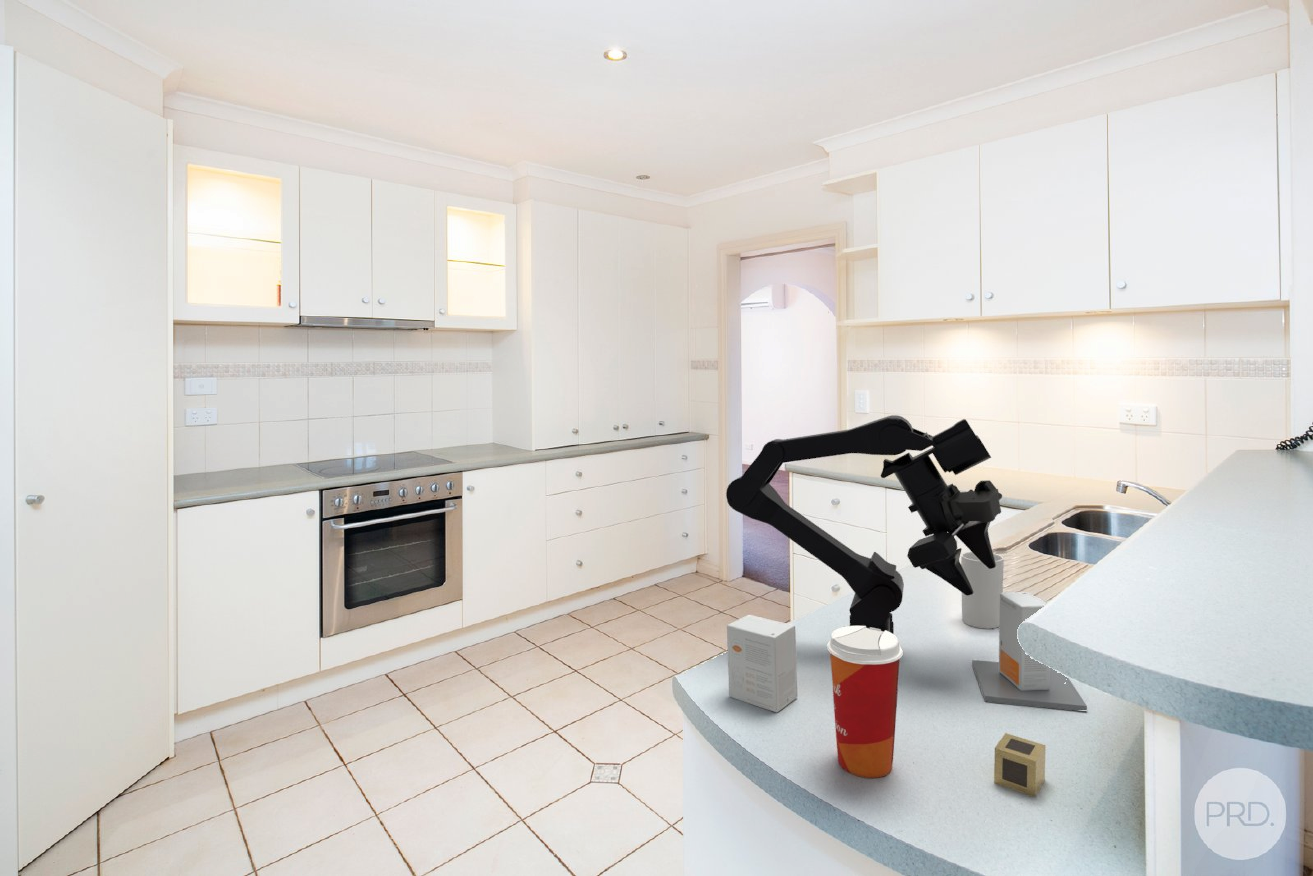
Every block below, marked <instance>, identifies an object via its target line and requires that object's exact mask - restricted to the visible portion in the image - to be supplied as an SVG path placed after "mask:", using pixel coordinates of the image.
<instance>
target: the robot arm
mask: <svg viewBox="0 0 1313 876" xmlns="http://www.w3.org/2000/svg"><path fill="white" fill-rule="evenodd" d="M924 450H925V451H924ZM906 451H917V452H921V453H918V454H917V455H914V456H913V455H912V454H911V453H910V452H907V453H905V452H906ZM922 451H923V452H922ZM903 453H905V454H903ZM848 454H858V455H859V454H862V455H872V456H873V455H874V456H898V455H901V454H903V455H901V456H900V457H898V458H896V459H894V460H891V459H888V458H885V459H884V460H883V463H882V464H883V466H882V471H881V473H880V477H881V479H885V478H888V477H889V476H891V475H893V474H894V476H895V477H896V478H897V480H898V481H899V484H900V485H901V487H902V488H903V490H904V491H905V493H906V494H907V495H906V496H908V498H909V500H910V502H911V504H910V505H909V506H908V507H907V508H908V510H909V511H910V513H911V514H913V513H914V512H917V513H918V515H919V516H920V518H921V520H922V522H923V523H924V525H925V528H924V529H922V533H923V535H924V536H925V537H923V538H920V539H918V540H917V541H916V542H915V543H914V544H913V545H911V546H910V548H908V551H907V552H908V553H907V555H906V557H907V558H908V560H909V562H910V563H911V565H912V566H913V568H915V569H916V568H920V570H927V571H929V573H932V574H934V575H935V576H937V577H939V578H941V579H942V580H943V581H945V582H947V583H948V584H949V585H951V586H952V587H953V588H955V589H957V590H958V591H959V592H961V594H962V593H964V594H965V595H967V596H968V595H972V594H973V593H974V592H973V589H972V587H971V584H970V582H969V580H968V578H967V576H966V574H965V572H964V570H963V568H962V566H961V561H960V559H961V558H960V557H961V554H962V548H961V547H960V548H958V543H957V542H958V541H957V539H956V538H958V539H959V541H961V542H962V543H963V544H964V546H965V547H966V548H967V549H968V550H969V551H970V552H972V553H973V554H974V555H975V556H976V557H977V558H978V559H979V560H980V561H981V562H982V563H983V564H984V565H985V566H987V567H988V568H989V569H992V568H995V567H996V564H995V560H994V556H993V553H994V552H993V548H992V545H991V541H990V536H989V528H990V524H991V523H992V522H994V520H996V517H997V516H998V515H1000V514H1001V513H1002V508H1001V504H1000V500H1001V499H1003V494H1002V493H1001V492H999V489H998V488H997V487H996V486H995V484H993V482H992V481H991V480H990V479H989V480H980V481H979V482H977V484H975V487H974V490H973V489H969V490H968V491H961V490H959V488H958V487H957V485H956V484H955V485H954V484H953V483H951V484H947V483H946V481H945V479H944V478H943V476H942V474H941V473H940V471H939V470H938V468H937V466H936V465H935V463H934V462H933V460H932V458H931V457H930V455H933V456H934V458H935V460H936V462H937V463H938V465H939V466H940V468H941V469H942V471H943V473H947V472H948V473H953V474H954V476H957V475H959V474H961V473H963V472H964V471H965V472H966V471H967V470H970V469H971V468H974V467H975V466H977V465H979V464H981V463H983V462H985V461H988V460H990V459H992V456H991V455H990V453H989V451H988V450H987V448H986V446H985V445H984V443H983V441H982V440H981V439H980V437H979V436H978V435H977V434H975V431H974V430H973V428H972V427H971V425H970V424H969V422H968V420H967V419H965V418H963V419H960V420H959V421H957V422H956V423H955V424H953V425H952V426H950V427H949V428H947V429H944V430H943V431H941V432H939V433H937V434H935V435H931V434H928V432H927V431H926V432H923V431H921V430H919V429H916V428H913V426H912V423H910V421H909V420H908V419H906V418H904V417H903V416H900V415H898V414H897V415H888V416H885V417H881V418H879V419H876V420H873V421H870V422H867V423H865V424H862V425H861V424H860V425H858V426H856V427H853V428H849V429H843V430H838V431H831V432H830V431H829V432H823V433H818V434H810V435H804V436H798V437H791V438H786V439H785V438H784V439H781V438H776V439H773V440H770V441H768V442H766V443H764V446H763V447H762V449H761V451H760V453H759V454H758V455H757V456H756V458H755V459H754V460H753V462H751V464H750V465H749V467H748V468H746V470H745V472H744V473H743V474H742V475H741V476H739V477H738V478H736V479H734V480H732V481H731V482H730V483H729V484H728V485H727V487H726V493H725V494H726V501H727V502H726V503H727V504H728V506H730V508H732V510H734V511H735V512H738V513H740V514H742V515H743V516H745V517H748V519H751V520H755V521H757V522H761V523H764V524H767V525H769V526H771V527H772V528H775V529H776V531H778V532H780V533H781V534H783V535H784V536H786V537H787V538H788V539H789V540H791V541H792V542H794V543H795V544H797V545H798V546H799V547H801V548H802V549H803V550H805V551H806V552H808V553H809V554H810V555H812V556H813V557H815V558H816V559H817V560H819V561H820V562H822V563H823V564H824V565H825V566H827V567H829V568H830V569H832V570H833V571H834V572H835V573H837V574H838V575H840V576H841V577H842V578H843V579H844V581H846V583H847V585H848V586H849V587H850V588H851V589H852V591H853V592H854V595H853V598H852V600H851V604H850V607H849V614H850V615H849V626H866V628H869V629H870V627H871V628H876V629H881V631H883V632H884V631H885V630H886V631H889V632H891V633H892V634H894V631H895V630H894V625H895V624H894V621H893V612H895V611H896V610H897V609H899V608H900V607H901V604H902V602H903V596H904V587H905V585H904V579H903V576H902V574H901V573H900V572H899V571H898V570H897V565H896V564H894V563H890V562H888V561H887V560H886V559H884V558H883V557H882V556H881V555H880V554H879V553H878V552H876V551H874V552H873V554H872V555H871V558H870V557H868V556H864V555H861V554H858V553H856V552H855V551H854V550H853V549H851V548H850V547H848V546H846V544H844V543H843V542H841V541H839V539H837V538H835V537H834V536H832V535H831V534H830V533H828V532H827V531H825V530H824V529H823V528H821V527H819V526H818V525H817V524H815V523H814V522H813V521H812V520H810V519H808V518H807V517H805V516H804V515H802V514H801V513H800V512H798V511H797V510H796V509H794V508H793V507H791V506H790V505H788V503H786V502H785V500H784V499H783V498H782V497H781V495H780V494H779V493H778V491H777V490H776V489H775V488H774V487H773V486H772V485H771V484H770V483H771V482H772V480H773V479H774V478H775V476H776V475H777V473H778V471H779V470H780V468H781V467H782V465H783V464H785V463H790V462H791V463H792V462H799V461H805V460H813V459H819V458H821V459H822V458H826V457H827V458H828V457H835V456H842V455H848ZM955 536H956V537H955ZM882 634H883V633H882ZM894 635H895V634H894Z"/></svg>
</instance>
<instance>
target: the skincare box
mask: <svg viewBox="0 0 1313 876" xmlns="http://www.w3.org/2000/svg"><path fill="white" fill-rule="evenodd" d="M1045 604H1048V603H1047V602H1045V601H1043V599H1041V598H1039V597H1037V596H1034V594H1031V593H1030V592H1028V591H1019V592H1018V591H1017V592H1016V591H1015V592H1014V591H1012V592H1010V591H1009V592H1003V593H1000V619H999V627H998V630H999V633H998V635H999V636H998V639H999V640H998V662H999V672H1000V673H1001V674H1003V675H1004V676H1005V677H1006V678H1007V679H1008V680H1010V681H1011V682H1012V683H1013V684H1014V685H1015V686H1016V687H1017V688H1018V689H1019V690H1021V691H1028V690H1049V689H1050V668H1049V667H1048V666H1046V665H1044V664H1041V663H1039V662H1038V661H1035V660H1034V659H1031V658H1030V656H1029V655H1026V654H1025V651H1024V650H1023V649H1022V647H1021V646H1020V644H1019V642H1018V639H1017V629H1018V627H1019V625H1020V624H1021V623H1022V622H1023V621H1025V619H1027V618H1029V617H1030V616H1031V615H1033V614H1034V613H1036V612H1037V611H1038V610H1039V609H1041V608H1042V607H1044V605H1045Z"/></svg>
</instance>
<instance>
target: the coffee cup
mask: <svg viewBox="0 0 1313 876" xmlns="http://www.w3.org/2000/svg"><path fill="white" fill-rule="evenodd" d="M882 633H883V634H882ZM826 649H827V650H828V652H829V654H830V666H831V667H830V668H831V681H832V683H831V685H832V694H833V695H832V697H833V700H832V701H833V713H834V724H835V725H834V728H835V739H836V752H837V758H838V759H837V760H838V763H839V766H840V767H841V768H842V769H843V770H844V771H845V772H847V773H849V774H851V775H854V776H856V777H859V778H866V779H879V778H883V777H886V776H887V775H889V774H890V773H891V772H892V770H893V769H892V768H893V765H894V764H893V763H894V762H893V761H894V752H895V738H896V737H895V735H896V723H897V722H896V721H897V706H898V691H899V690H898V688H899V687H898V686H899V675H900V674H899V671H900V660H901V658H902V657H903V654H904V650H903V649H902V647H901V646H900V642H899V639H898V638H897V636H896V635H895V634H892V633H891V632H889V631H886V630H885V631H884V632H883V631H881V629H876V628H871V627H870V629H869V628H866V626H850V625H848V626H842V627H839V628H837V629H835V630H833V632H832V633H831V635H830V639H829V641H828V642H827V644H826Z"/></svg>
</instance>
